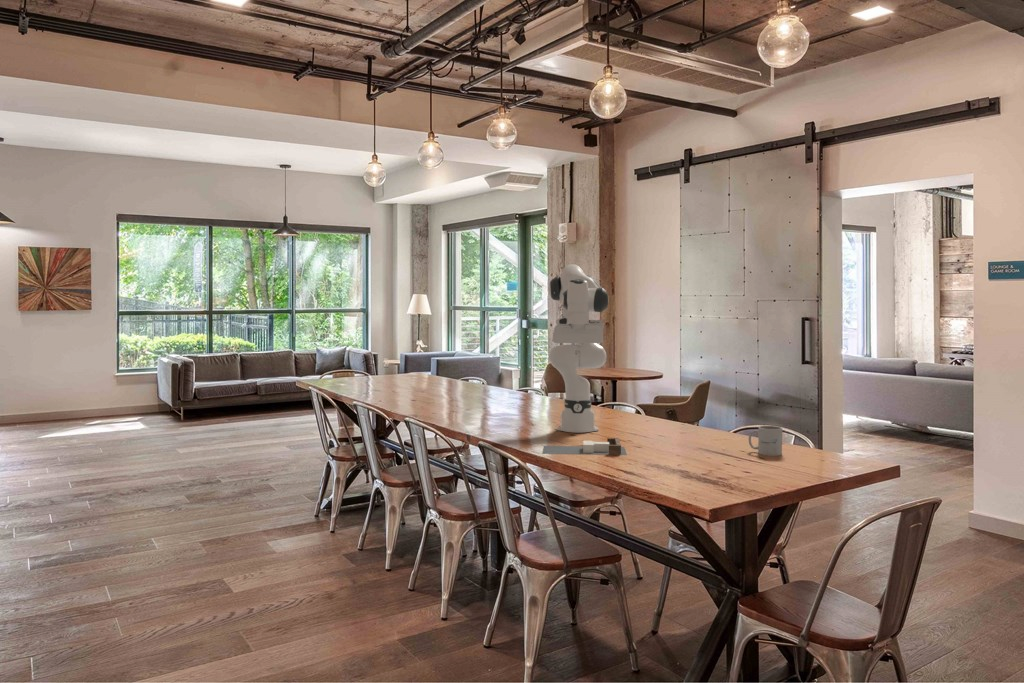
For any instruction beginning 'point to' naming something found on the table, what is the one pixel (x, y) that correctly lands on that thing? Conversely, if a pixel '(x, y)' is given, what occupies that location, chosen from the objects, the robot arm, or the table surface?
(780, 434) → the mug
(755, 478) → the table surface
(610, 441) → the dock
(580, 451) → the mat
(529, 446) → the table surface
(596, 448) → the tee
